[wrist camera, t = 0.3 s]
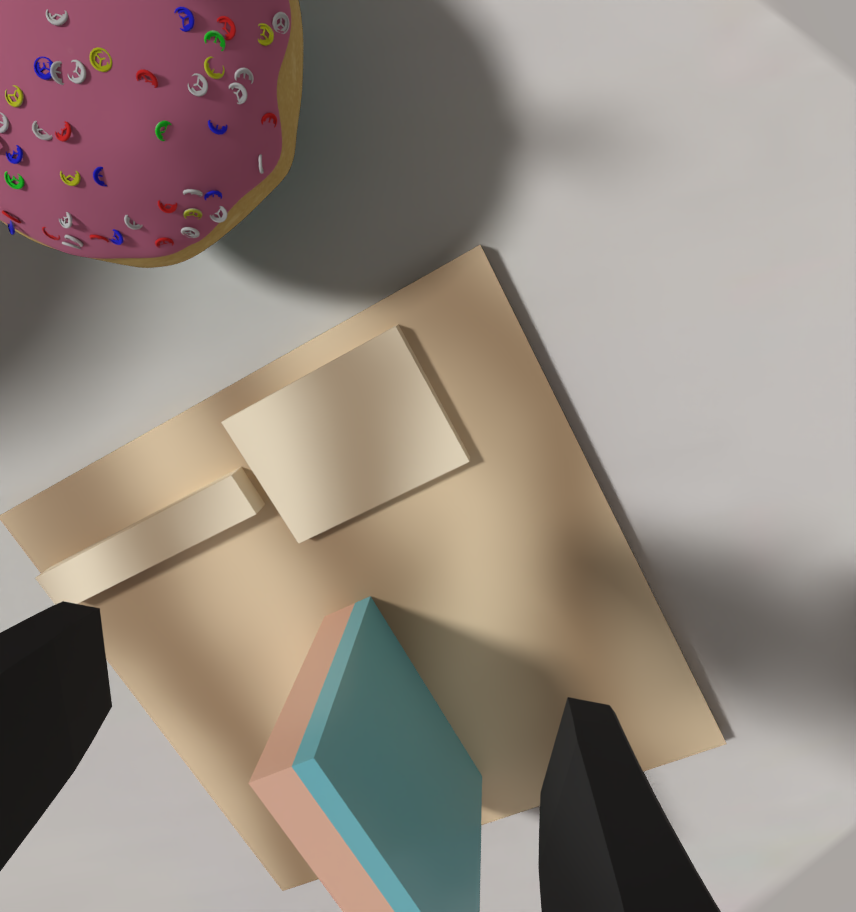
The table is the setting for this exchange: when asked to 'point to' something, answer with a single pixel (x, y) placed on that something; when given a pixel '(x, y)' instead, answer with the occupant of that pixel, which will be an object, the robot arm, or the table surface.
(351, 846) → the tile
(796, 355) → the table surface
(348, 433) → the wooden turner
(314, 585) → the cork mat
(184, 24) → the cupcake
